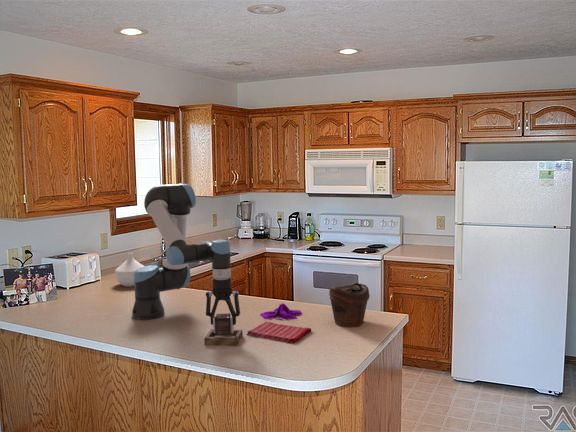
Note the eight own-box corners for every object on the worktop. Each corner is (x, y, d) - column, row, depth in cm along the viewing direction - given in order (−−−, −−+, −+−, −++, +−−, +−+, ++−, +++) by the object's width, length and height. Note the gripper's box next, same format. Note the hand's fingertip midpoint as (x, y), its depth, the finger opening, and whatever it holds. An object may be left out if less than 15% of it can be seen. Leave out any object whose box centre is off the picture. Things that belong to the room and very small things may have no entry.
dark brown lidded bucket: (373, 317, 250) (372, 279, 248) (365, 331, 231) (364, 291, 229) (336, 314, 256) (335, 278, 254) (325, 328, 237) (324, 288, 235)
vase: (142, 288, 311) (141, 255, 309) (111, 288, 311) (109, 256, 309) (151, 280, 329) (149, 249, 327) (121, 281, 330) (119, 250, 327)
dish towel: (294, 345, 218) (294, 339, 218) (245, 336, 230) (245, 330, 229) (313, 332, 233) (312, 326, 233) (266, 324, 244) (266, 319, 244)
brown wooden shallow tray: (204, 345, 219) (204, 338, 218) (211, 335, 230) (211, 328, 229) (237, 345, 217) (237, 338, 217) (242, 336, 228) (242, 329, 228)
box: (216, 330, 226) (216, 313, 225) (231, 329, 226) (230, 313, 225) (216, 335, 220) (215, 318, 219) (230, 334, 220) (230, 317, 219)
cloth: (253, 318, 254) (253, 305, 253) (275, 308, 270) (274, 296, 269) (294, 325, 242) (294, 312, 242) (314, 314, 258) (313, 302, 257)
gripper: (196, 279, 217) (198, 334, 220) (243, 280, 215) (245, 335, 218) (201, 275, 225) (203, 328, 228) (247, 275, 223) (248, 329, 225)
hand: (223, 331), depth 223 cm, fingers closed on box, 7 cm apart
